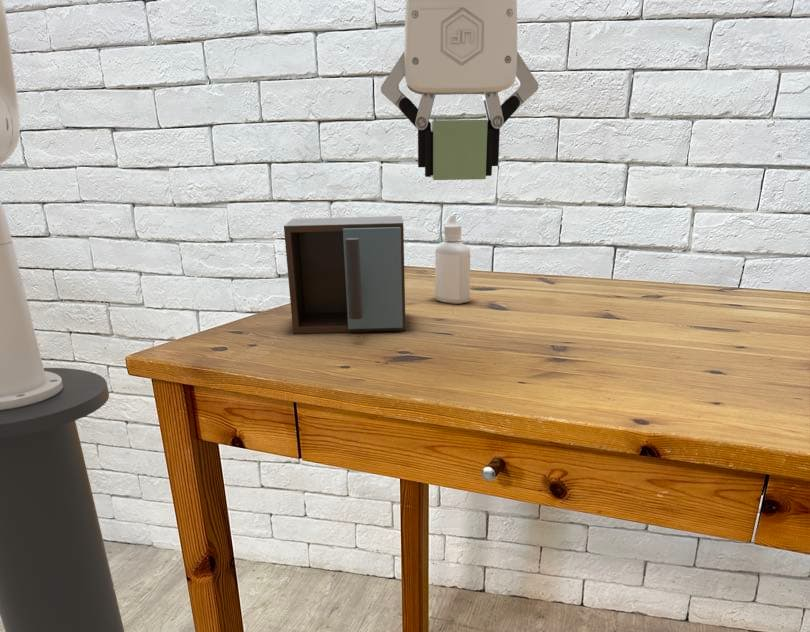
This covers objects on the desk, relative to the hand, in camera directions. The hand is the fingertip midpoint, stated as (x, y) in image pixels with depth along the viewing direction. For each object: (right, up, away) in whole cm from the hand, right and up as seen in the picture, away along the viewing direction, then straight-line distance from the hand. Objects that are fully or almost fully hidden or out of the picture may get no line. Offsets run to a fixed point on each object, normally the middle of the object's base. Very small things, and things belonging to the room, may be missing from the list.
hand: (457, 173), depth 75 cm
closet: (-13, -7, +28) cm, 32 cm away
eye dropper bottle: (+2, 0, +41) cm, 41 cm away
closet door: (-9, -10, +21) cm, 25 cm away
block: (0, 0, 0) cm, 0 cm away
